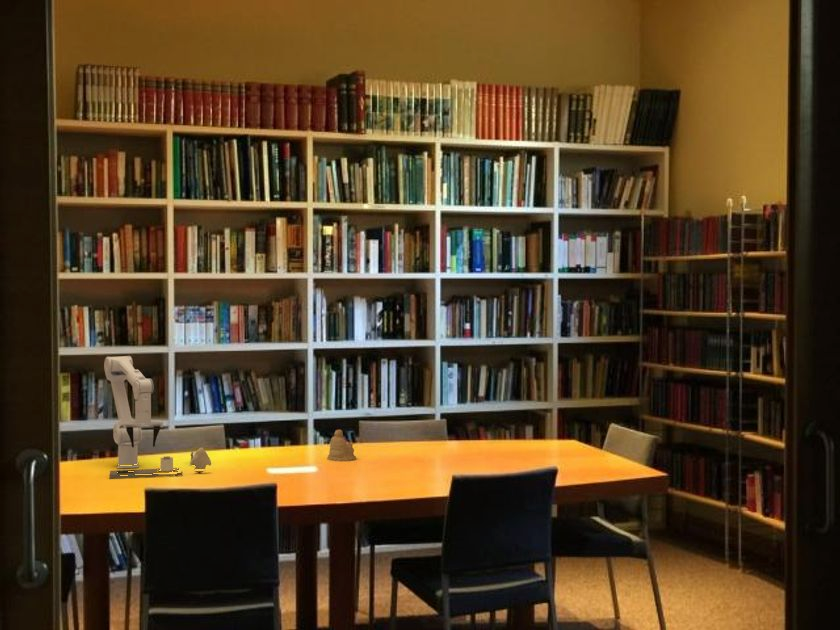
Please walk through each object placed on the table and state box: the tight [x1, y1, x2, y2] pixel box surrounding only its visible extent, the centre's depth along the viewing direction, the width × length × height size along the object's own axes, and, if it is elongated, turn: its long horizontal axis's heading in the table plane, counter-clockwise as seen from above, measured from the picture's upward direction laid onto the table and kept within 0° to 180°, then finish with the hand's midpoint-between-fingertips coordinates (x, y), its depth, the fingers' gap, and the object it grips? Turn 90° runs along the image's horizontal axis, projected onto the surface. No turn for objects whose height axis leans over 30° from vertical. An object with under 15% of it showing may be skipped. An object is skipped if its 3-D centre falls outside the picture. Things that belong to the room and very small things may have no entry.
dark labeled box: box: [190, 451, 197, 461], centre depth 423 cm, size 14×25×4 cm, turn 12°
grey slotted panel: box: [109, 467, 183, 480], centre depth 399 cm, size 8×26×2 cm, turn 104°
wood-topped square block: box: [160, 455, 174, 472], centre depth 401 cm, size 4×4×6 cm
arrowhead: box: [189, 447, 212, 473], centre depth 404 cm, size 8×3×10 cm, turn 104°
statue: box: [327, 429, 357, 463], centre depth 435 cm, size 12×14×10 cm
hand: (143, 446), depth 404 cm, fingers open, 7 cm apart
